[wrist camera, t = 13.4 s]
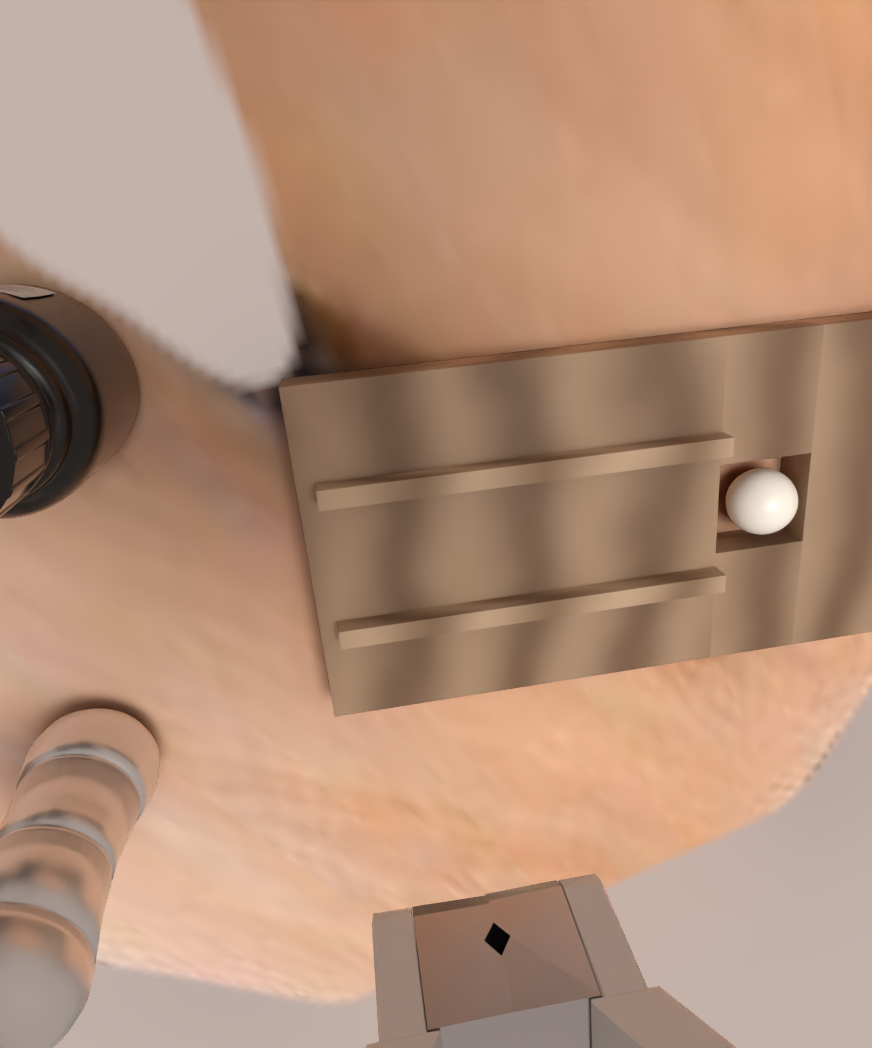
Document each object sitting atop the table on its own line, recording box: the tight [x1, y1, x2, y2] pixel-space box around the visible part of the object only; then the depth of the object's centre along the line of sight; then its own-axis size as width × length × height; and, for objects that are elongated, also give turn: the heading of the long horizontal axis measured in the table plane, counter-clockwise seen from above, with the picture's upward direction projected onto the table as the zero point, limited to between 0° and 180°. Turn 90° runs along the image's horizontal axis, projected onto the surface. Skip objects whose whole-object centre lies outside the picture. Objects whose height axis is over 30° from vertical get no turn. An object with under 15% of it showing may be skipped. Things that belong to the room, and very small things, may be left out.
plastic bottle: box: [0, 708, 160, 1048], centre depth 31 cm, size 6×7×20 cm
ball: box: [725, 468, 798, 535], centre depth 39 cm, size 4×4×4 cm
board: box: [279, 312, 872, 717], centre depth 38 cm, size 32×18×4 cm, turn 95°
